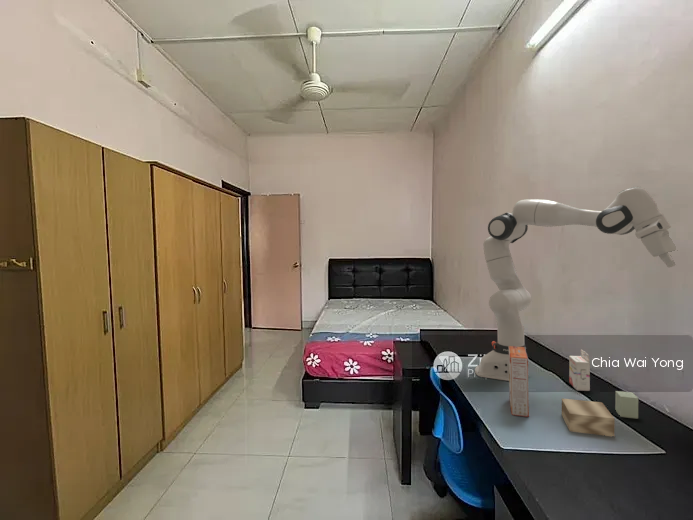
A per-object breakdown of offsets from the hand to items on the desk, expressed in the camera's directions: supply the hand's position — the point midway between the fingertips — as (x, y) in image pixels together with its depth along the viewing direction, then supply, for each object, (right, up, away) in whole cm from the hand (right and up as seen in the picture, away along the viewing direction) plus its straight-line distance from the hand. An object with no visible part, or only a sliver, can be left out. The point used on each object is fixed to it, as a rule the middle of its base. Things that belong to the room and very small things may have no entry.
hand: (676, 265), depth 125 cm
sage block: (-13, -51, +4) cm, 53 cm away
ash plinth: (-31, -52, -3) cm, 61 cm away
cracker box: (-48, -52, +11) cm, 71 cm away
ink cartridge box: (-14, -50, +29) cm, 60 cm away
